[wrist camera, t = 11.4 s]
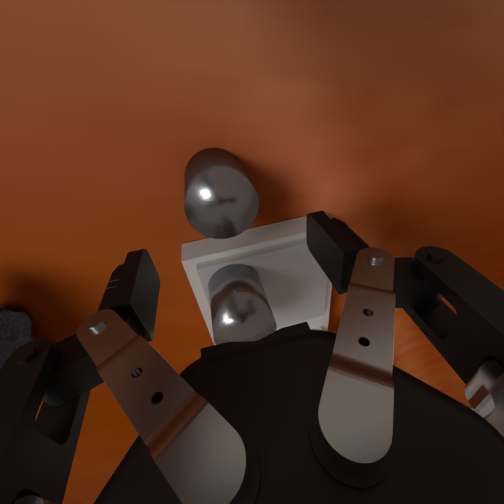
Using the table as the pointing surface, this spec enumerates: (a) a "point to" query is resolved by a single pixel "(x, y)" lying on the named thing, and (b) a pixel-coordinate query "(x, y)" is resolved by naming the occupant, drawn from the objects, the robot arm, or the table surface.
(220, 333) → the grey glossy egg shape
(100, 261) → the table surface
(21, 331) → the stone
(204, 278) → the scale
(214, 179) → the cylinder
